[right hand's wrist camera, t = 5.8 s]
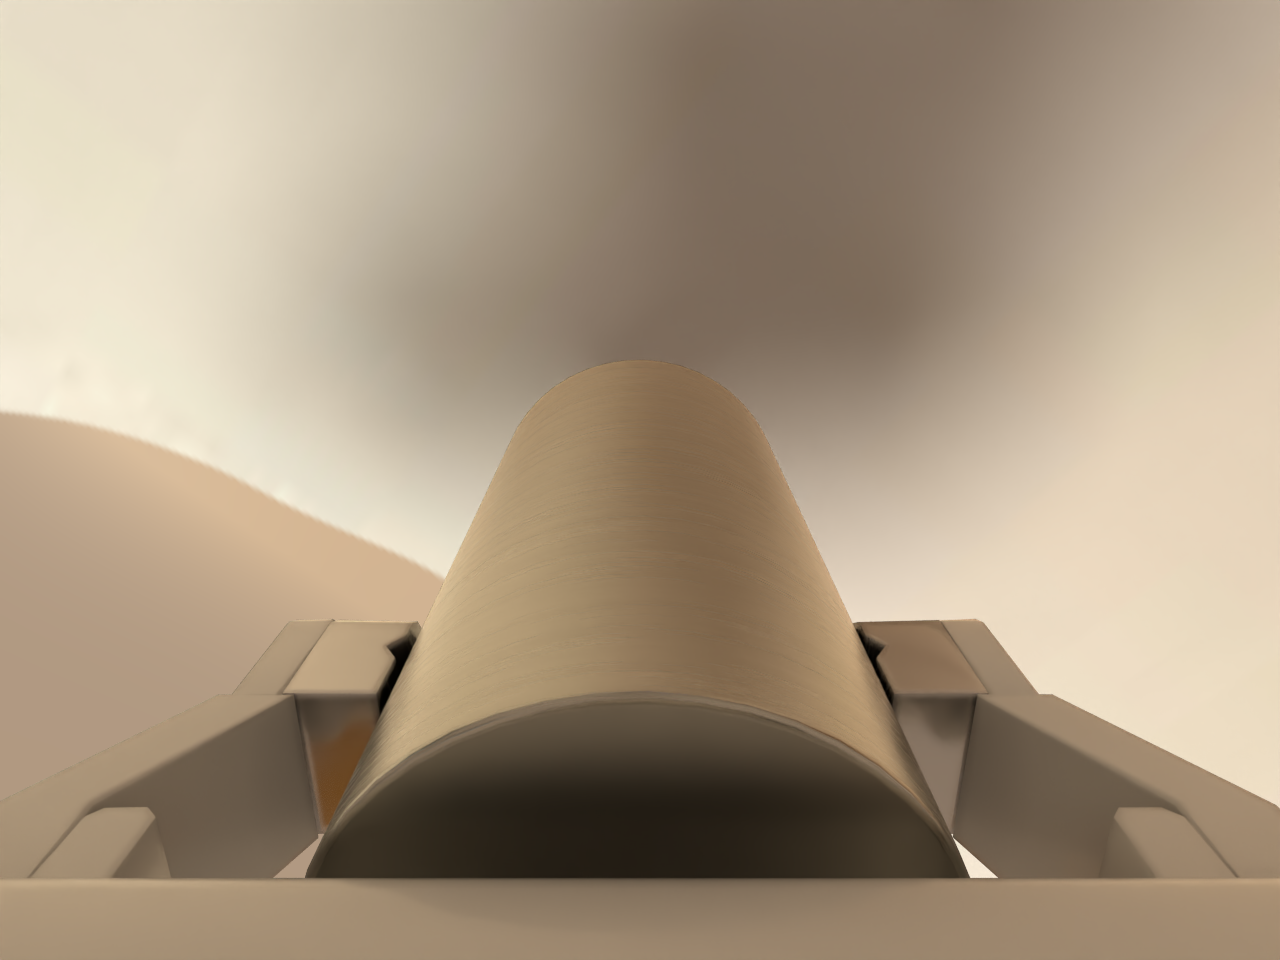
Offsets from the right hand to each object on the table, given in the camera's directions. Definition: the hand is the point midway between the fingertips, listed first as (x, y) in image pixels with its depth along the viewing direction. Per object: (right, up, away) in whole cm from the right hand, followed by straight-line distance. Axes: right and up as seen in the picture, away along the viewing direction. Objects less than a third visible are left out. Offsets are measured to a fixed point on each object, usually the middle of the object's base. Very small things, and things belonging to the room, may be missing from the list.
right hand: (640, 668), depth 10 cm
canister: (0, +2, +6) cm, 6 cm away
